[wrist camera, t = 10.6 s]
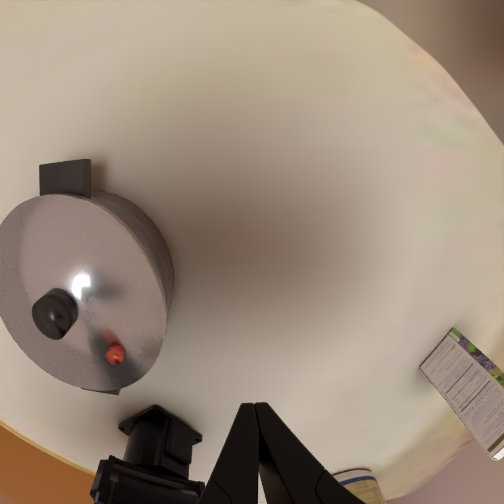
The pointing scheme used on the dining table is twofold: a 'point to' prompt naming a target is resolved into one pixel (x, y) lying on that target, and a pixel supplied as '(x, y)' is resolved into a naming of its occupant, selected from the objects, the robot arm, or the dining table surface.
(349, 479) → the supplement tub
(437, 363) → the syrup box
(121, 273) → the cooker lid
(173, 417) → the robot arm
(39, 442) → the dining table surface
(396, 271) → the dining table surface
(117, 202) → the cooker pot
